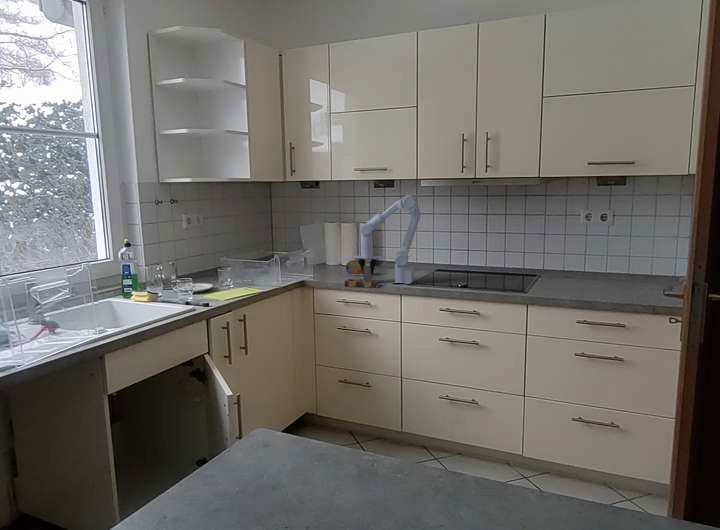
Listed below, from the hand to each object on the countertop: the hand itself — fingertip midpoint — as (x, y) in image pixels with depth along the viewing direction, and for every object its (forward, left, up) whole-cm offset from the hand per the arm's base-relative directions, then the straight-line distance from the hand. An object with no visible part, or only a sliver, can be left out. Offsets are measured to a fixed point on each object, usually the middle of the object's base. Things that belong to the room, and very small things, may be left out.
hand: (368, 274), depth 263 cm
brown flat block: (+1, +7, -5) cm, 8 cm away
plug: (0, 0, -2) cm, 2 cm away
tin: (+10, -19, -5) cm, 22 cm away
